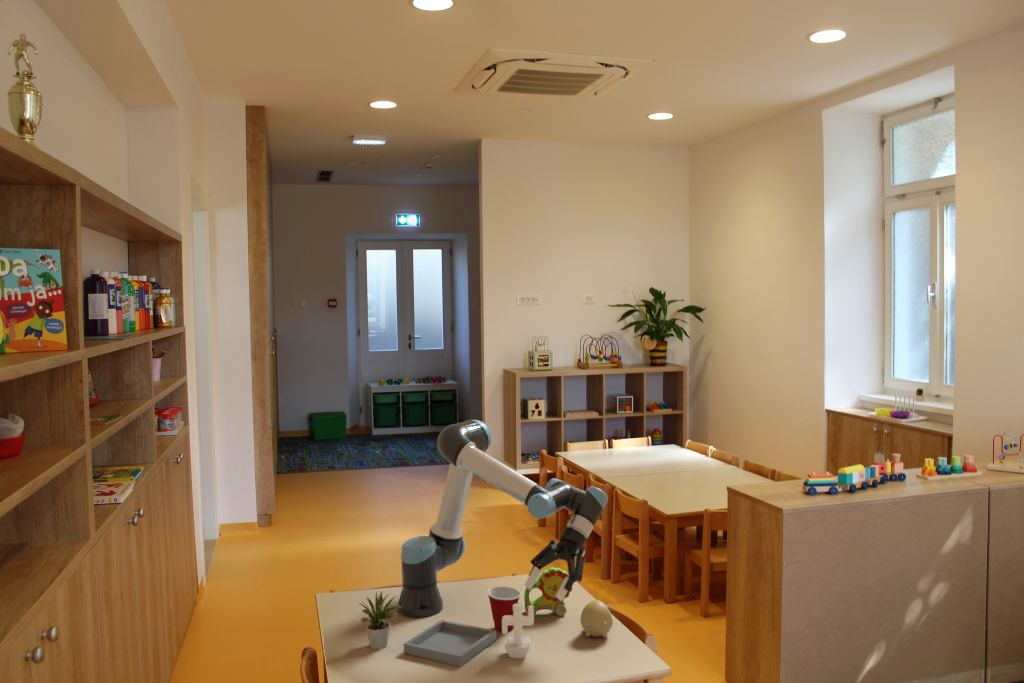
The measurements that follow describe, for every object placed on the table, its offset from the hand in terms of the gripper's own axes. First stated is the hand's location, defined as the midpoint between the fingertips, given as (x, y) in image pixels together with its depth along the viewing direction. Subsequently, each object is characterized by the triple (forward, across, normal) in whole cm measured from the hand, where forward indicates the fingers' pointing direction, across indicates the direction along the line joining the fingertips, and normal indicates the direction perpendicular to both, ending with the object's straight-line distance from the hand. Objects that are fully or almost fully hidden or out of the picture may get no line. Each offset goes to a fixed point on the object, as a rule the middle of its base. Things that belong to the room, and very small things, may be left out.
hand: (542, 593), depth 242 cm
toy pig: (0, -6, -23) cm, 24 cm away
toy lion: (-1, +17, -24) cm, 30 cm away
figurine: (+18, 0, -4) cm, 19 cm away
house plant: (+37, +34, +15) cm, 53 cm away
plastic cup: (+12, +18, -11) cm, 24 cm away
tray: (+26, +19, +4) cm, 32 cm away
